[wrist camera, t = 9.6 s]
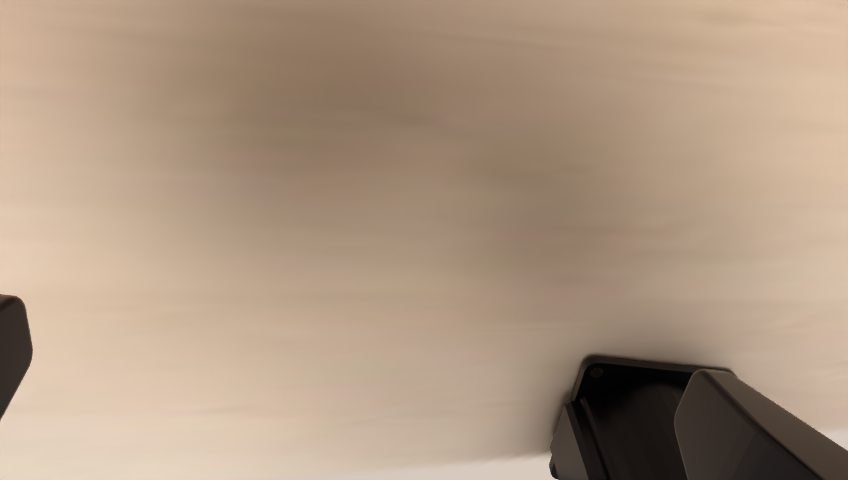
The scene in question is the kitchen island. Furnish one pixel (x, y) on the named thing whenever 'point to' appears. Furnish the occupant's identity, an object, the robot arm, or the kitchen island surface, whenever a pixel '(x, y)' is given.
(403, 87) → the kitchen island surface
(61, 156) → the kitchen island surface
